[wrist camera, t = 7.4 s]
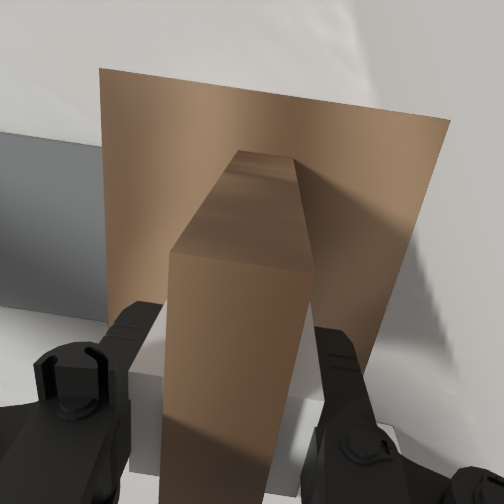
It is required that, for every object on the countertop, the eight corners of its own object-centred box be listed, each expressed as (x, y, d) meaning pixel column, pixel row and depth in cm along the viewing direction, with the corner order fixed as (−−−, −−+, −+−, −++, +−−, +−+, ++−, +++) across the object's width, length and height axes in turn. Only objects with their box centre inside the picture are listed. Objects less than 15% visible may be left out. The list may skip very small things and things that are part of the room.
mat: (-45, 294, 30) (-51, 298, 30) (-88, 118, 25) (-96, 119, 24) (190, 330, 30) (189, 334, 30) (204, 162, 24) (202, 163, 24)
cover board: (119, 332, 18) (-44, 581, 9) (113, 69, 13) (-261, 26, 4) (354, 368, 18) (432, 657, 9) (436, 117, 13) (799, 183, 4)
